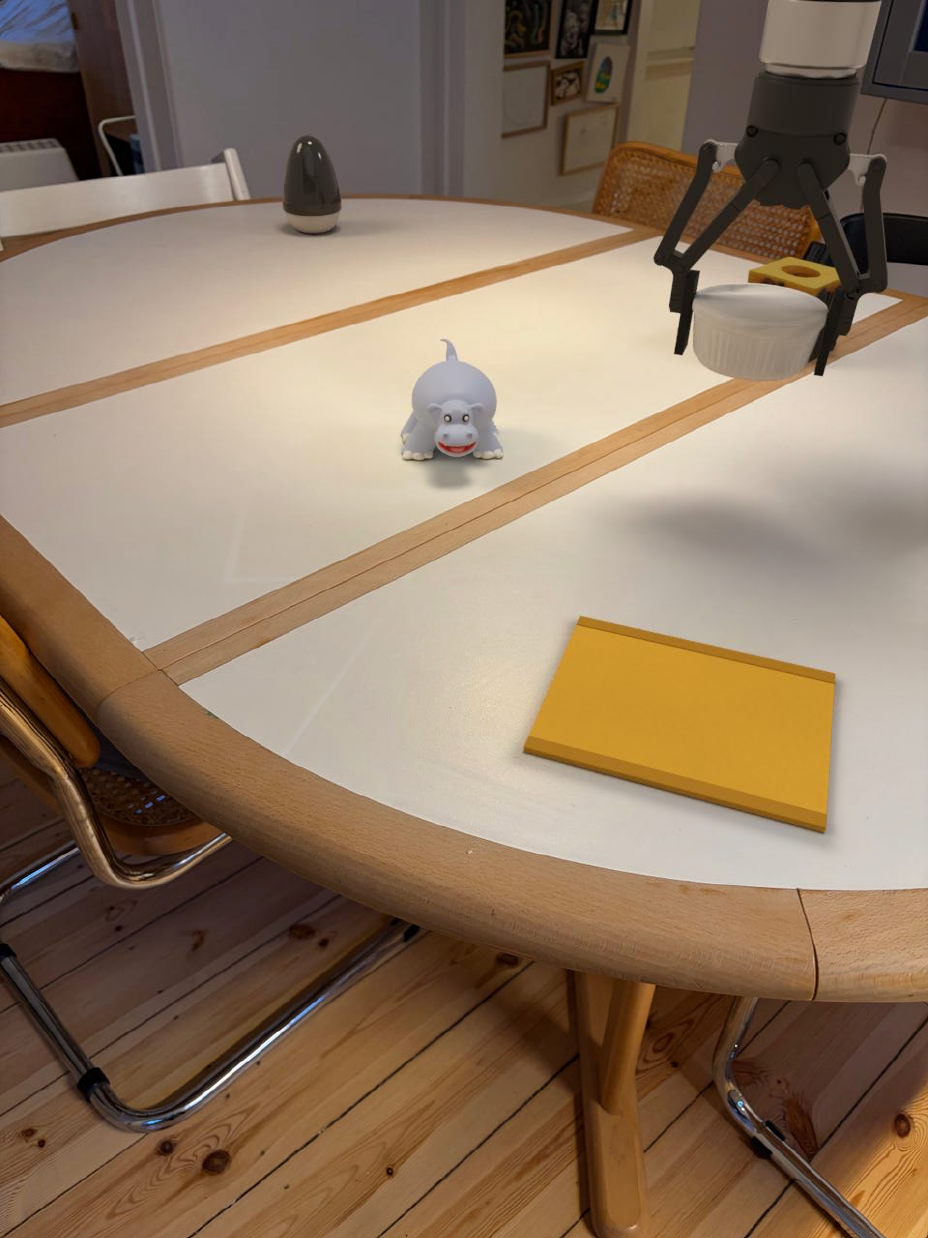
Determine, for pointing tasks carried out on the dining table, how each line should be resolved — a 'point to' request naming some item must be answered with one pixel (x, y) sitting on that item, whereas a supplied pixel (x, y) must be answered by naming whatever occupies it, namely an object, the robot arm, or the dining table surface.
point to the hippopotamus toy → (452, 412)
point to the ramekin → (756, 330)
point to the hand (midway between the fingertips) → (748, 359)
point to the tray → (692, 720)
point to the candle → (801, 283)
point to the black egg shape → (310, 187)
